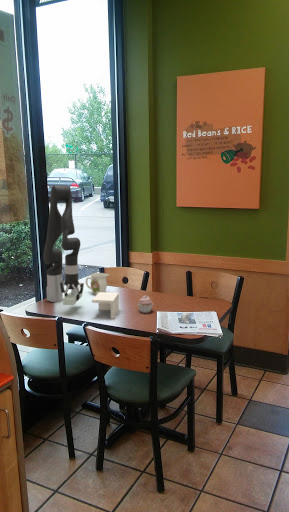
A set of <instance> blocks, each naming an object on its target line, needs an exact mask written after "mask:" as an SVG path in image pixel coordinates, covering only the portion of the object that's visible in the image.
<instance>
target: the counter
mask: <svg viewBox="0 0 289 512" xmlns="http://www.w3.org/2000/svg"><path fill="white" fill-rule="evenodd" d="M119 299H120V295H119V292H108V291H105V292H99V293H98V294H97V295H95V296H94V297H93V298H92V299H91V303H95V304H98V310H99V311H110V320H113V319H115V318H116V315H117V314H118V312H119V311H120V306H119V305H120V302H119V301H120V300H119Z"/></svg>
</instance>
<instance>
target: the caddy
mask: <svg viewBox="0 0 289 512" xmlns="http://www.w3.org/2000/svg"><path fill="white" fill-rule="evenodd" d="M77 287H78V289H79V291H80V286H79V285H78V286H77ZM76 295H77V293H76V291H75V290H73V289H70V292H69V293H68V295H67V296H66V297H65V296H63V300H62V304H63V306H75V304H77V302H78V301H77V296H76ZM82 297H83V293H82V294H80V299H81V298H82Z"/></svg>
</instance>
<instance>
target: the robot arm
mask: <svg viewBox="0 0 289 512" xmlns="http://www.w3.org/2000/svg"><path fill="white" fill-rule="evenodd" d="M49 197H50V201H49V203H50V204H49V205H50V206H49V214H48V215H49V216H48V223H47V233H46V241H45V246H44V250H43V255H42V256H43V261H44V263H45V264H46V265H52V266H51V267H49V268H48V269H47V270H46V277H47V278H46V282H47V286H46V302H49V301H50V303H59V302H63V298H64V297H66V296H67V295H68V294H69V293H68V292H69V290H71V289H73V290H75V291H76V293H77V295H76V296H77V302H78V301H79V300H80V299H81V298H80V294H82V295H83V292H84V286H85V285H84V284H85V283H84V282H80V281H79V266H78V264H79V263H78V261H79V257H78V256H79V252H80V249H81V240H80V239H79V237H69V236H71V235H74V234H75V232H76V230H75V224H74V218H73V200H72V198H73V197H72V189H71V187H70V185H65V184H63V185H62V184H54V185H52V187H51V189H50V196H49ZM58 202H64V203H65V208H64V211H63V213H62V214H61V212H60V210H59V208H58ZM61 236H62V238H61V248H62V249H63V251H67V252H68V251H72V252H70V253H68V254H67V253H66V254H65V257H64V262H65V263H64V281H63V274H62V273H63V252H62V249H60V248H54V246H55V244H56V243H57V241H58V240H59V239H60V237H61ZM65 286H66V287H65ZM77 286H79V289H80V291H79V289H78V287H77ZM63 295H64V296H63Z"/></svg>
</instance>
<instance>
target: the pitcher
mask: <svg viewBox="0 0 289 512" xmlns="http://www.w3.org/2000/svg"><path fill="white" fill-rule="evenodd" d="M109 276H110V274H109V273H106V272H105V273H104V272H94V273H91V274H90V276H87V277H85V278H86V279H85V286H86V287H87V288H88V289H89V290H91V291H92V293H93V295H95V296H96V295H97V294H98V293H99V292H107V286H108V284H107V283H108V281H107V277H109ZM89 279H90V285H89V284H88V280H89Z"/></svg>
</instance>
